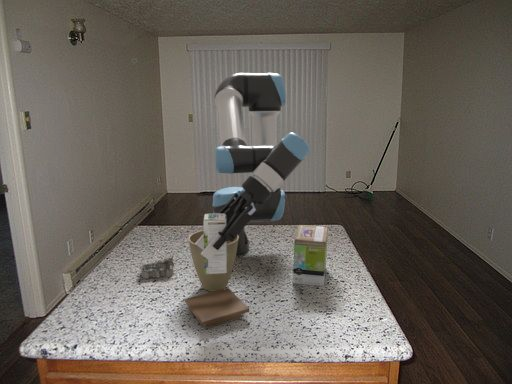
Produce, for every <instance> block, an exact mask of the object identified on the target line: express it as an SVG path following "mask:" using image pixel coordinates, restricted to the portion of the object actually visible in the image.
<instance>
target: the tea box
mask: <svg viewBox="0 0 512 384" xmlns="http://www.w3.org/2000/svg"><path fill="white" fill-rule="evenodd" d="M328 229H329V228H328V227H327V226H317V225H305V224H304V225H302V224H299V225H298V227H297V230H296V234H295V237H294V242H293V243H294V245H293V264H292V265H293V266H292V267H293V270H292V284H297V285H306V286H307V285H308V286H318V287H324V284H325V279H326V278H325V277H326V267H327V266H326V265H327V251H328Z"/></svg>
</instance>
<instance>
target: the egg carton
mask: <svg viewBox="0 0 512 384" xmlns="http://www.w3.org/2000/svg"><path fill="white" fill-rule="evenodd" d="M174 267H175V263H174V258H173V257H167V258H164V259H162V260H158V261H155V262H154V261H152V262H149V263H141V266H140V270H141V272H140V274H141V278H144V279H150V278H151V277H152V278H153V277H155V278H160V277H162V276H166V277H168V278H169V277H171V276H172V275H174V274H175V273H174V271H175V270H174Z"/></svg>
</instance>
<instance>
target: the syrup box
mask: <svg viewBox="0 0 512 384" xmlns="http://www.w3.org/2000/svg"><path fill="white" fill-rule="evenodd" d="M202 222H203V230H204V249H205V248H206V247H207V246H208V245H209V243H210V242H211V241H212V240H213V239H214V238H215V237H216V236H217V234H218V232H222V231H223V229H224V228H225V226H226V214H221V213H205V214H204V216H203V221H202ZM204 270H205V274H221V273H227V241H226V242H225V244H224V245H223V246H222V247H221V248H220V249H219V250H218V251H217V253H216V254H215V255H214V256H213V257H212V258H211V259H210V260H208V259H206V258H205V257H204Z"/></svg>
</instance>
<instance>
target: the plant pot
mask: <svg viewBox="0 0 512 384" xmlns="http://www.w3.org/2000/svg"><path fill="white" fill-rule="evenodd" d="M203 234H204V229H203V230H198V231H196V232H193V233H191V234H190V235H189V237H188V238H187V239H188V245H189V250H190V254H191V259H192V262H193V266H194V269H195V272H196V275H197V278H198V280H199V283H200V284H201V287H202V289H204V290H206V292H207V291H208V292H214V291H218V290H222V289H226V288H227V286H228V283H229V281H230V278H231V275H232V271H233V269H234V265H235V261H236V256H237V255H236V252H237V246H238V239H239V236H238V235H237V237H236V238H235V239H234V240H233V241H232V242H231V241H230V240H229V241H227V273H221V274H205V270H204V256H203V255H201V252H202V251H203V250H202V249H201V248H200V247H199V246H197V245H196V244H195V243H196V242H197V241H198V239H199V238H200V237H201V236H202V235H203Z"/></svg>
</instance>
